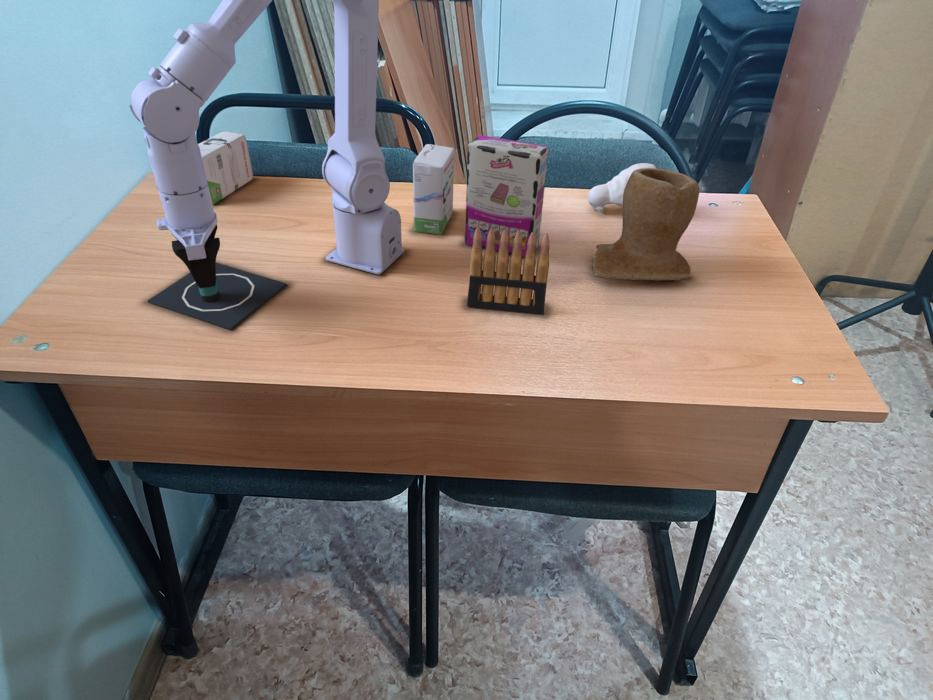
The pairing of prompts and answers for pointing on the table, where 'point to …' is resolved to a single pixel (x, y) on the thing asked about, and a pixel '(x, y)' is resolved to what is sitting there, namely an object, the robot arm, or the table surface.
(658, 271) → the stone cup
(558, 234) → the table surface
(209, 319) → the mat
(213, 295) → the marker
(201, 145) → the ink box
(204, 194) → the robot arm
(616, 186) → the white rounded piece
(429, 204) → the ink box
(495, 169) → the candy bar box
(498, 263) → the ammunition clip
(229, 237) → the table surface
